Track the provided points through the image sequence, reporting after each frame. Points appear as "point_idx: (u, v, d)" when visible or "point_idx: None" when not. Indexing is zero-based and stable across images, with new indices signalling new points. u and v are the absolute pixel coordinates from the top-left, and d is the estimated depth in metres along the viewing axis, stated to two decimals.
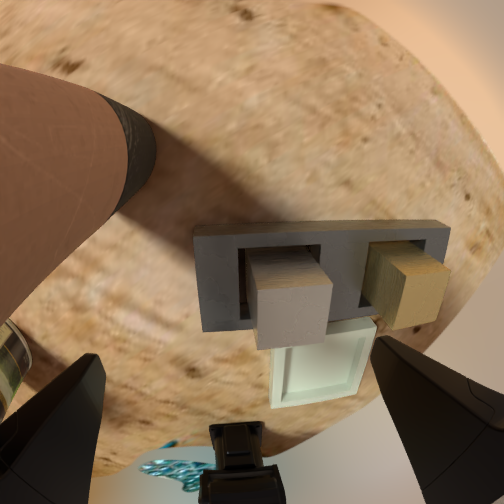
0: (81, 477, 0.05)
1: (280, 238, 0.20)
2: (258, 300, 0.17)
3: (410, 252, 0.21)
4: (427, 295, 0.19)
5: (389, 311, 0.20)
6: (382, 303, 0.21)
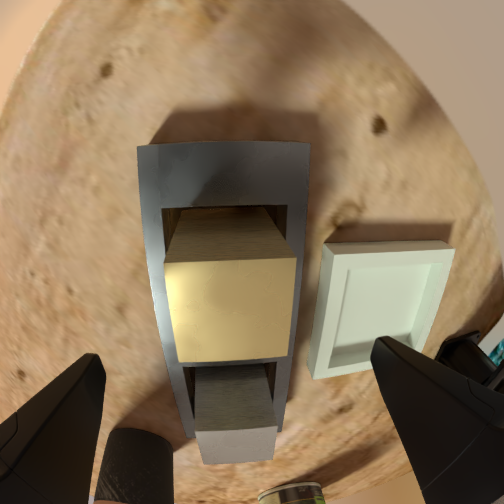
0: (81, 477, 0.05)
1: (180, 396, 0.18)
2: (214, 463, 0.15)
3: None
4: (220, 310, 0.10)
5: None
6: None
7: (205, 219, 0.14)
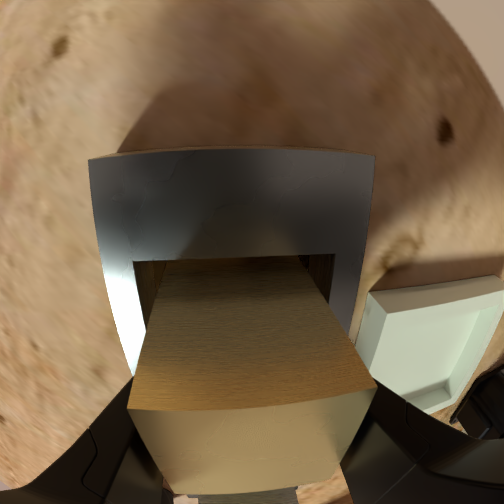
0: (156, 489, 0.05)
1: None
2: None
3: None
4: (237, 458, 0.05)
5: None
6: None
7: (204, 277, 0.09)
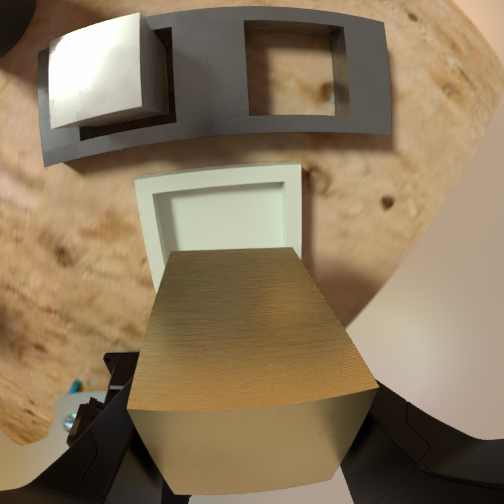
0: (156, 489, 0.05)
1: None
2: (50, 53, 0.08)
3: None
4: (238, 458, 0.05)
5: None
6: None
7: (205, 276, 0.09)
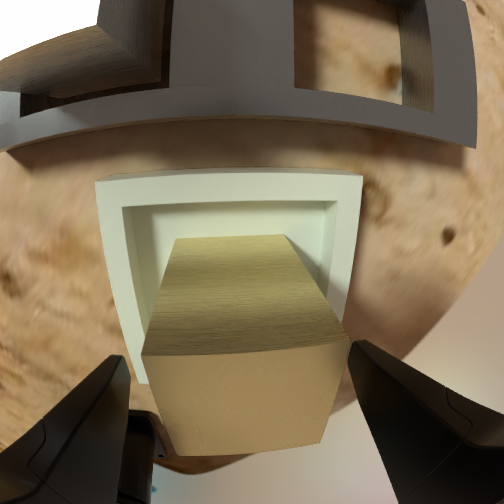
0: (110, 483, 0.05)
1: None
2: None
3: None
4: (233, 409, 0.06)
5: None
6: None
7: (206, 257, 0.10)
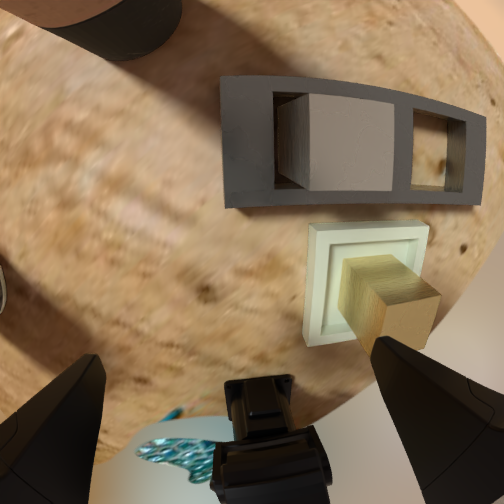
0: (81, 477, 0.05)
1: (320, 85, 0.15)
2: (310, 108, 0.12)
3: (358, 297, 0.20)
4: (404, 327, 0.16)
5: None
6: None
7: (369, 268, 0.20)
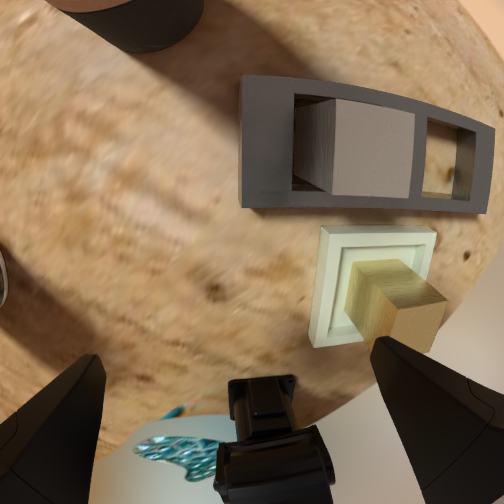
0: (81, 477, 0.05)
1: (340, 89, 0.15)
2: (337, 113, 0.12)
3: (367, 300, 0.20)
4: (412, 330, 0.17)
5: None
6: None
7: (378, 272, 0.20)
